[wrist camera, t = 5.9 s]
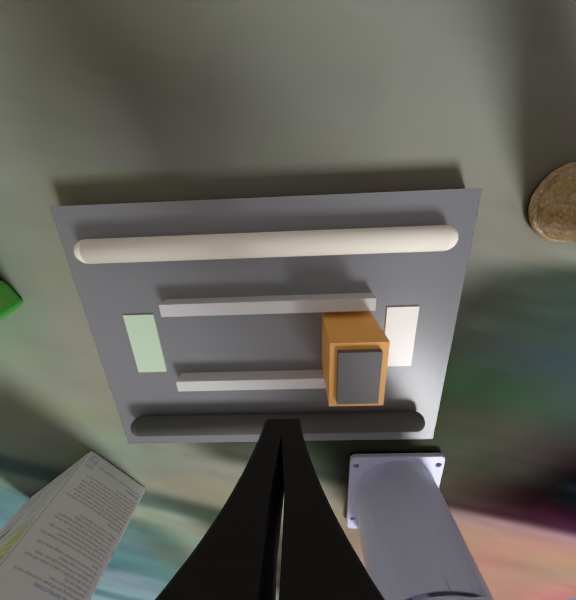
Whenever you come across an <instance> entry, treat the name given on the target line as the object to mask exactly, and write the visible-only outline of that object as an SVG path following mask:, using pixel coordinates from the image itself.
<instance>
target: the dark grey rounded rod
mask: <svg viewBox="0 0 576 600" xmlns="http://www.w3.org/2000/svg"><path fill="white" fill-rule="evenodd" d="M297 418H298V419H299V420H300V421H301V427H302V432H303V434H325V433H386V432H419V431H421V430H423V428H424V426H425V420H424V417H423V416H422V415H421V414H420V413H419V412H417V411H372V412H318V413H265V414H211V415H158V416H139V417H137V418H136V419H135V420H134V421H133V422H132V424H131V432H132V434H133V435H135V436H139V437H140V436H202V435H260V434H261V432H262V429H263V426H264V423H265V421H266V420H267V419H297Z"/></svg>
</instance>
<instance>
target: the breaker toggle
mask: <svg viewBox="0 0 576 600" xmlns="http://www.w3.org/2000/svg"><path fill="white" fill-rule="evenodd" d="M389 346H390V341H389V340H388V338H387V336H386V335H385V333H384V332H383V330H382V329H381V327H380V326H379V324H378V323H377V321H376V320H375V318H374V317H373V315H372V314H371V312H370V311H349V312H322V369H323V375H324V381H325V387H326V393H327V398H328V404H329V406H372V405H383V403H384V394H385V384H386V375H387V365H388V355H389Z"/></svg>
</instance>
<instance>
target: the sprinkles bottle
mask: <svg viewBox="0 0 576 600" xmlns="http://www.w3.org/2000/svg"><path fill="white" fill-rule="evenodd" d="M528 213H529V223H530V224H531V228H532V229H533V230H534V232H535V233H537V234H538V235H539V236H540V237H542V238H544V239H546V240H550V241H555V242H562V241H568V242H574V243H576V162H572V163H568V164H566V165H563V166H562V167H560V168H558V169H556V170H554V171H553V172H552V173H550V174H549V175H548V176H547V177H546V178H545V179H544V180H543V181H542V182H541V183H540V185H539V186H538V188H537V189H536V190H535V192H534V194H533V195H532V197H531V200H530V205H529V209H528Z"/></svg>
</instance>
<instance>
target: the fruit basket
mask: <svg viewBox="0 0 576 600" xmlns="http://www.w3.org/2000/svg"><path fill="white" fill-rule="evenodd" d="M21 304H22V300H21V299H20V298H19V297H18V295H17V294H16V293H15V292H14V291H13V290H12V289H11V288H10V286H9V285H7V284H6V283H4V282H3V281H1V280H0V320H1V319H3V318H4V317H5V316H7V315H8V314H10V313H11V312H12V311H14V310H15V309H16V308H18V307H19V306H20V305H21Z"/></svg>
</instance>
